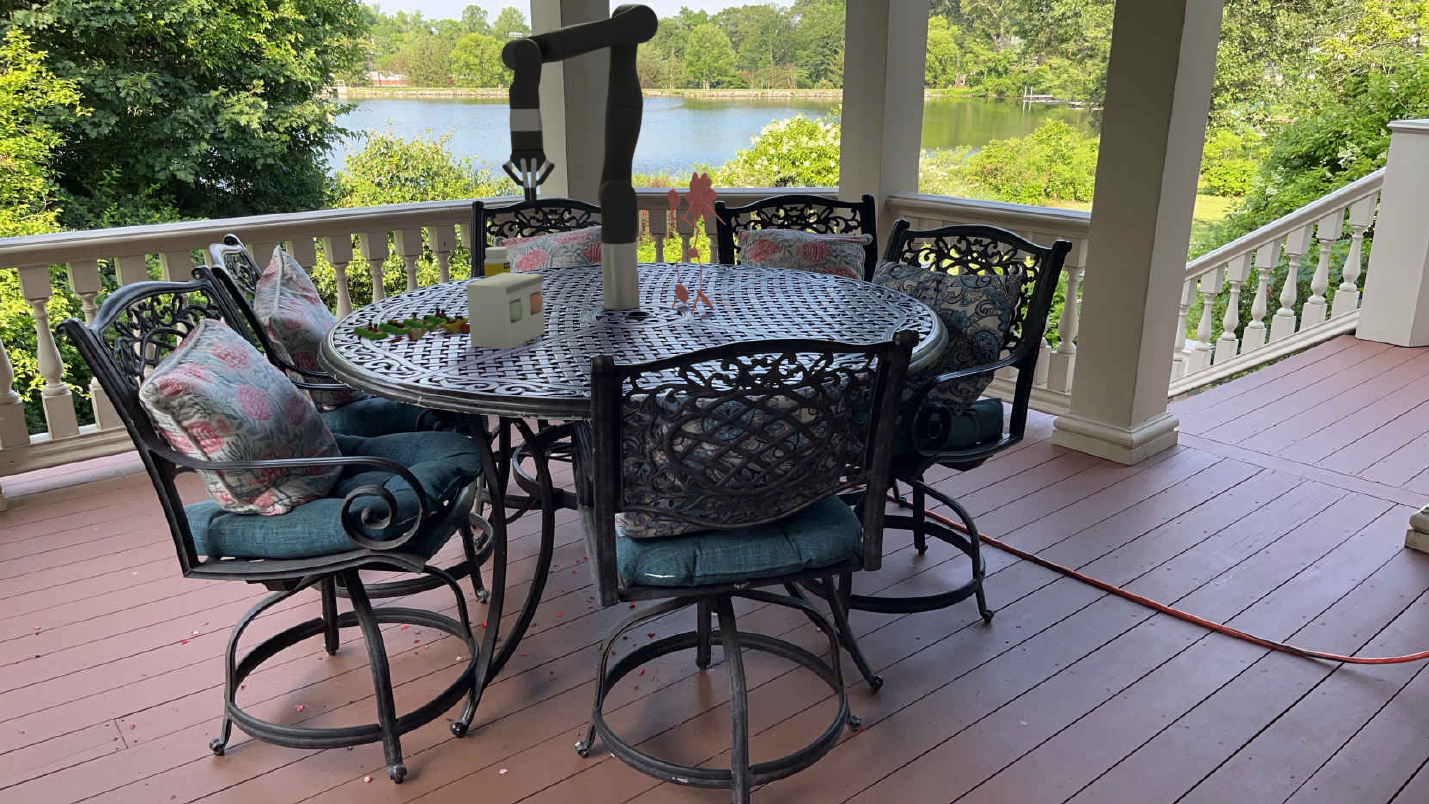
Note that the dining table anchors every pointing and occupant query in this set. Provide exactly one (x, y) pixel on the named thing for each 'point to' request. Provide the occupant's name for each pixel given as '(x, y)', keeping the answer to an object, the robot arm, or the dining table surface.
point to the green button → (515, 310)
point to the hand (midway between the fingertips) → (530, 203)
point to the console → (504, 310)
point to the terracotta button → (535, 302)
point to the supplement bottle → (496, 261)
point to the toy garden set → (415, 326)
